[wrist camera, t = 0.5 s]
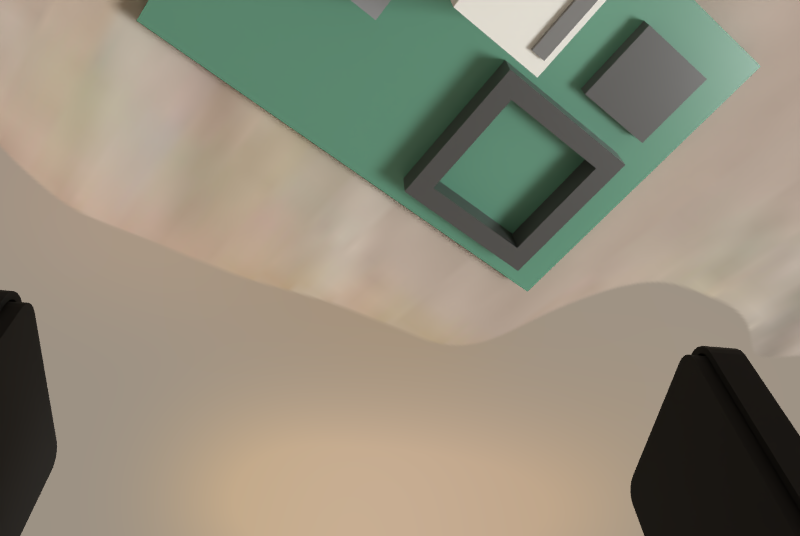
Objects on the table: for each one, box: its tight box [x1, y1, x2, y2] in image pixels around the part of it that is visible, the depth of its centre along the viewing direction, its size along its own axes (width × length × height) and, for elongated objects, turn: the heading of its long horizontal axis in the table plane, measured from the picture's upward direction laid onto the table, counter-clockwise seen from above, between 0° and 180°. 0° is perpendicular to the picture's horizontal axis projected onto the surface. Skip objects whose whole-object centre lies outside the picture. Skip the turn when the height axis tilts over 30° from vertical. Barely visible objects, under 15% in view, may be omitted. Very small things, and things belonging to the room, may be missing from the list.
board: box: [137, 0, 761, 291], centre depth 33 cm, size 16×24×4 cm, turn 52°
